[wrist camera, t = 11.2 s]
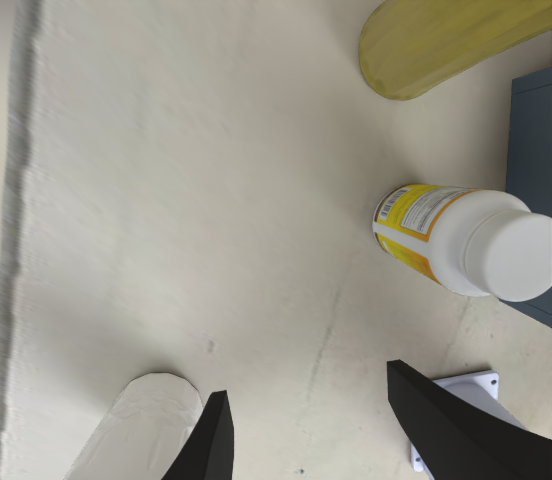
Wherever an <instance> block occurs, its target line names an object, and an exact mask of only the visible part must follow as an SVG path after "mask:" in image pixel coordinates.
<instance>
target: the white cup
mask: <svg viewBox="0 0 552 480" xmlns="http://www.w3.org/2000/svg"><path fill="white" fill-rule="evenodd" d="M202 411H203V407H202V403H201V399H200V396H199V392H198V391H197V390H196V389H195V388H194V387H193V386H192V385H191V384H190V383H189V382H188V381H187V380H185V379H183V378H180V377H178V376H175V375H172V374H170V373H149V374H147V375H144V376H142V377H139V378H137V379H135V380H132V381H131V382H130V383H129V384H128V385H127V386H126V387H125V389H124V390H123V391H122V392H121V393H120V394H119V396H118V397H117V399H116V400H115V402H114V404H113V405H112V407H111V408H110V410H109V412H107V413H106V415H105V416H104V417H103V419H102V420H101V422H100V423H99V425H98V426H97V428H96V429H95V431H94V432H93V434H92V435H91V437H90V438H89V440H88V441H87V443H86V444H85V446H84V447H83V449H82V450H81V452H80V453H79V455H78V456H77V458H76V460H75V461H74V463H73V464H72V466H71V468H70V469H69V471H68V472H67V474H66V475H65V477H64V479H63V480H161V479H162V477H163V476H164V475H165V473H166V472H167V470H168V469H169V468H170V466H171V465H172V463H173V462H174V460H175V459H176V457H177V456H178V454H179V452H180V451H181V449H182V448H183V446H184V444H185V443H186V441H187V439H188V438H189V436H190V434H191V432H192V431H193V429H194V427H195V425H196V423H197V421H198V420H199V418H200V416H201V414H202Z"/></svg>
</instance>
